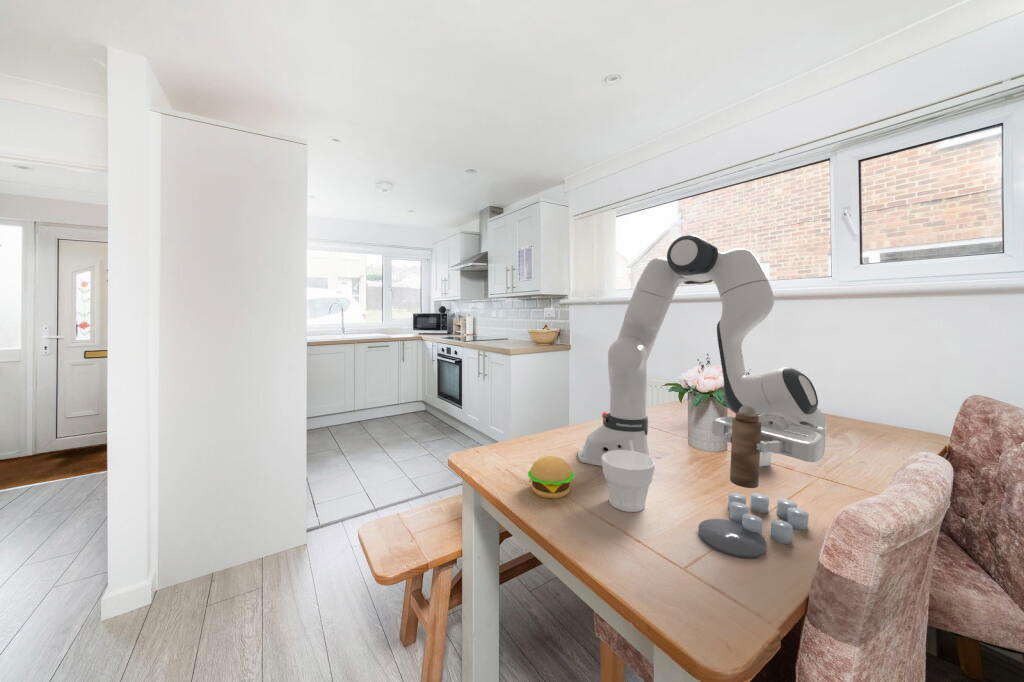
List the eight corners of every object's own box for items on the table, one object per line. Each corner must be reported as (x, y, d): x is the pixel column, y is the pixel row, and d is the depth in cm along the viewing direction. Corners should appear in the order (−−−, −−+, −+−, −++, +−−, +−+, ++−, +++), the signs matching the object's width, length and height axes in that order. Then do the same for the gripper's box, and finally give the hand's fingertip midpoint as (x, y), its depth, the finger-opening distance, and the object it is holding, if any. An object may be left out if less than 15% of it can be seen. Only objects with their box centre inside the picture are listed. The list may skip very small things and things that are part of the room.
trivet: (705, 552, 73) (705, 547, 72) (693, 519, 84) (693, 515, 84) (777, 563, 69) (777, 558, 69) (753, 527, 81) (753, 523, 81)
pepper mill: (734, 486, 76) (737, 407, 75) (726, 476, 81) (729, 402, 79) (762, 489, 75) (766, 409, 73) (753, 478, 79) (756, 403, 78)
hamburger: (583, 490, 98) (583, 458, 98) (554, 507, 90) (554, 471, 89) (548, 476, 107) (548, 446, 106) (518, 490, 98) (518, 458, 98)
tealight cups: (741, 537, 77) (741, 523, 77) (720, 501, 92) (720, 489, 92) (828, 549, 73) (828, 534, 73) (791, 509, 88) (792, 497, 88)
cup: (650, 494, 96) (651, 451, 95) (658, 520, 84) (659, 471, 83) (600, 489, 99) (601, 448, 98) (600, 513, 87) (601, 466, 86)
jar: (752, 468, 112) (754, 428, 111) (731, 458, 120) (732, 421, 119) (777, 465, 114) (779, 426, 113) (754, 455, 122) (756, 419, 121)
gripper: (730, 407, 92) (696, 415, 85) (834, 430, 75) (802, 442, 68) (729, 433, 93) (695, 442, 86) (832, 461, 75) (800, 476, 68)
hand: (743, 442), depth 76 cm, fingers closed on pepper mill, 5 cm apart
